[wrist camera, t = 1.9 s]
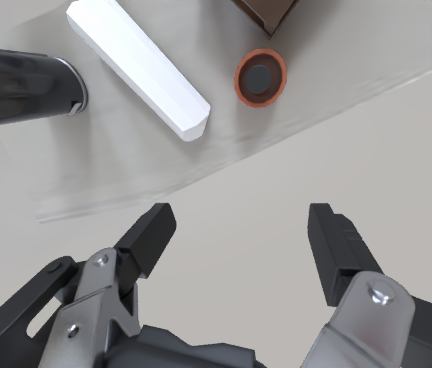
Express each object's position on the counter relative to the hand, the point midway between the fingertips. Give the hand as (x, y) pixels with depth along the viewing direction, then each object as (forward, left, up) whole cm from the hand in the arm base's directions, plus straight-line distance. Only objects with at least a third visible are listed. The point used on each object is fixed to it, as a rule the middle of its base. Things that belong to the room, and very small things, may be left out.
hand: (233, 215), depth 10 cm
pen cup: (-4, +6, -24) cm, 25 cm away
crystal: (-18, -4, -24) cm, 30 cm away
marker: (-4, +6, -23) cm, 24 cm away
